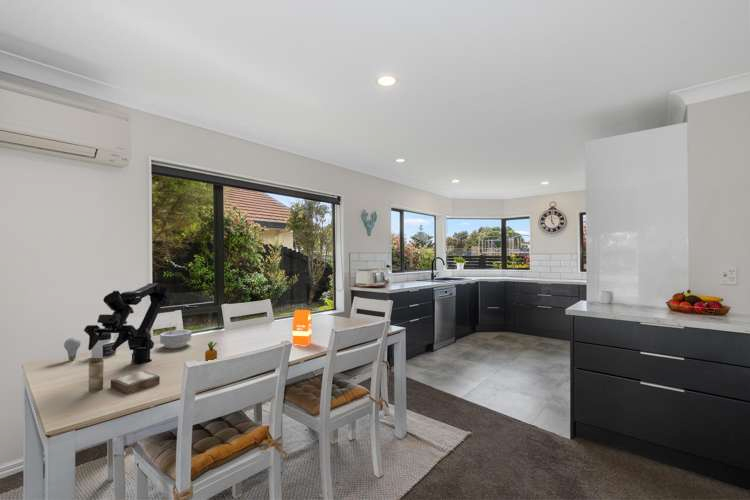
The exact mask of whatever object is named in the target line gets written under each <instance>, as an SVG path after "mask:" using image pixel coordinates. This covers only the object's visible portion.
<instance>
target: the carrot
mask: <svg viewBox="0 0 750 500" xmlns="http://www.w3.org/2000/svg"><path fill="white" fill-rule="evenodd" d="M217 344H218V342H213V341H209V342H208V343H207V346H208V349H207V350H205V352H204V361H208V360H214V359H217V360H218V350H217V349H214V347H215V346H216V345H217Z"/></svg>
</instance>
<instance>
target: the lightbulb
mask: <svg viewBox="0 0 750 500" xmlns="http://www.w3.org/2000/svg"><path fill="white" fill-rule="evenodd" d="M81 345H82V342H81V339H79V338H78V337H69V338H67V339H66V340H65V342H64V343H63V347H64V349H65V350H66V352H67V356H68V361H74V360H76V358H77V352H78V350H79V348H80V347H81Z"/></svg>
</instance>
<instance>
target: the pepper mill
mask: <svg viewBox="0 0 750 500" xmlns="http://www.w3.org/2000/svg"><path fill="white" fill-rule="evenodd" d="M104 365H105V363H104V358H103V359H101V358H92V359H91V360H89V362H88V393H98V392H100V391H103V390H104Z"/></svg>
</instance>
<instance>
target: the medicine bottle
mask: <svg viewBox="0 0 750 500" xmlns="http://www.w3.org/2000/svg"><path fill="white" fill-rule="evenodd" d="M112 335H113V333H103V334H102V335H101V336H100V339H99V341H98V342H97V343H96V345H95V346H94V347H93V348H92V349H91V350H90V351H91V359H99V358H101V359H103V360H104V359H106V358H110V357H112V356H116V355H117V348H116V349H115V350H112V348H113V345H114V343H115V341H116V340H112Z"/></svg>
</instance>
